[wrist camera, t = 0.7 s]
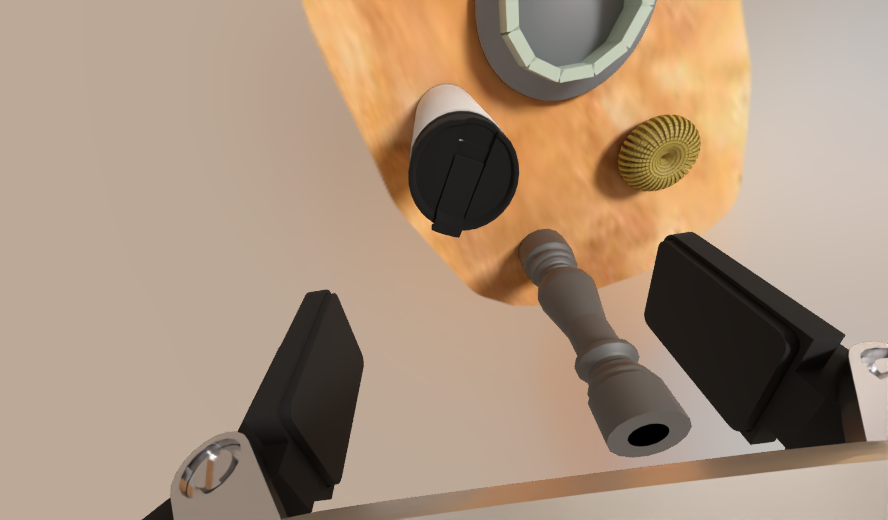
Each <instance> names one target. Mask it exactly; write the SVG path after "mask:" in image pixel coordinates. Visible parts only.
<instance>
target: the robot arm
mask: <svg viewBox="0 0 888 520" xmlns="http://www.w3.org/2000/svg"><path fill="white" fill-rule="evenodd" d="M644 316H645V321H646V323H647V325H648V326H649V327H650V329H651V330H652V331H653V333H654V334H655V335H656V336H657V337H658V339H659V340H660V341H661V342H662V344H663V345H664V346H665V347H666V348H667V350H668V351H669V352H670V354H671V355H672V356H673V357H674V358H675V360H676V361H677V362H678V363H679V365H680V366H681V367H682V368H683V370H684V371H685V372H686V373H687V375H688V376H689V377H690V378H691V379H692V381H693V382H694V383H695V384H696V386H697V387H698V388H699V389H700V391H701V392H702V393H703V394H704V395H705V397H706V398H707V399H708V400H709V402H710V403H711V404H712V405H713V406H714V408H715V409H716V410H717V412H718V413H719V414H720V415H721V416H722V418H723V419H724V420H725V421H726V423H727V424H728V425H729V426H730V427H731V428H732V429H734V430H736V431H740V432H741V434H742V435H743V436H744V437H745V439H746V440H747V441H748V442H749V443H750V444H751V445H752V444H760V443H767V442H774V441H775V440H776V438H777V439H778V440H779V441H780V442H781V443H782V444H783V445H784V447H785V450H778V451H770V452H761V453H754V454H745V455H738V456H729V457H721V458H714V459H705V460H697V461H689V462H681V463H673V464H665V465H656V466H649V467H640V468H633V469H626V470H617V471H609V472H601V473H594V474H586V475H578V476H570V477H563V478H555V479H547V480H539V481H532V482H524V483H516V484H509V485H502V486H494V487H486V488H479V489H471V490H464V491H456V492H449V493H442V494H434V495H427V496H419V497H412V498H405V499H397V500H389V501H383V502H376V503H370V504H363V505H357V506H350V507H344V508H338V509H331V510H324V511H319V512H313V513H311V512H312V508H313V504H314V501H320V500H329V499H332V494H333V489H334V485H335V484H339V483H340V481H341V478H342V473H343V468H344V463H345V458H346V453H347V448H348V443H349V438H350V433H351V428H352V423H353V418H354V413H355V408H356V402H357V397H358V392H359V387H360V382H361V377H362V372H363V366H364V365H363V364H364V361H363V356H362V353H361V351H360V348H359V346H358V344H357V341H356V339H355V336H354V334H353V332H352V329H351V327H350V325H349V322H348V320H347V318H346V315H345V313H344V310H343V308H342V305H341V303H340V301H339V298H338V296H337V295H336V294H335V293H334V294H331V292H330V291H329V290H321V291H315V292H309V293H307V294H306V295H305V297H304V299H303V301H302V304H301V305H300V308H299V310H298V312H297V314H296V316H295V318H294V320H293V322H292V324H291V326H290V328H289V330H288V332H287V334H286V336H285V338H284V340H283V342H282V344H281V346H280V347H279V349H278V351H277V353H276V355H275V357H274V359H273V361H272V363H271V365H270V367H269V369H268V371H267V373H266V375H265V377H264V379H263V381H262V383H261V385H260V387H259V389H258V391H257V393H256V395H255V398H254V399H253V401H252V404H251V406H250V407H249V409H248V412H247V413H246V416H245V418H244V420H243V422H242V424H241V426H240V428H239V430H238V432H226V433H223V434H220V435H217V436H215V437H213V438H211V439H210V440H208V441H206V442H204V443H203V444H202V445H201V446H200V447H198V448H197V449H196V450H194V451H193V452H192V453H191V455H189V457H188V458H187V459H186V460H185V461H184V462H183V463H182V465H181V466H180V468H179V469H178V471H177V472H176V474H175V477H174V479H173V482H172V484H171V494H170V498H169V499H168V500H166V501H165V502H164V503H163V504H161V505H160V506H159V507H157V508H156V509H155V510H154V511H152V512H151V513H150V514H149V515H147V516H146V517H145V518H144V519H142V520H888V343H883V342H863V343H859V344H855V345H854V346H853V347H852V348H850V349H849V350H848V349H847V348H845V347H844V346H842V345H841V344H840V343H841V341H842V340H843V338H844V337H845V334H843V333H842V332H840V331H839V330H837V329H836V328H834V327H833V326H832V325H830V324H829V323H827V322H826V321H824V320H823V319H821V318H820V317H818V316H817V315H815V314H814V313H812V312H811V311H809V310H808V309H806V308H805V307H803V306H802V305H800V304H799V303H797V302H796V301H794V300H793V299H792V298H790V297H789V296H787V295H786V294H784V293H783V292H781V291H780V290H778V289H777V288H775V287H774V286H772V285H771V284H769V283H768V282H766V281H765V280H763V279H762V278H760V277H759V276H758V275H756V274H754V273H753V272H752V271H750V270H749V269H747V268H746V267H744V266H743V265H741V264H740V263H738V262H737V261H735V260H734V259H732V258H731V257H729V256H728V255H726V254H725V253H723V252H722V251H720V250H719V249H718V248H716V247H715V246H713V245H712V244H710V243H709V242H707V241H706V240H704V239H703V238H701V237H700V236H698V235H697V234H695V233H693V232H686V233H680V234H674V235H669V236H667V237H666V238H665V240H664V241H663V242H661V243H660V244H659V247H658V251H657V256H656V261H655V265H654V270H653V275H652V279H651V284H650V289H649V294H648V298H647V303H646V308H645V313H644Z"/></svg>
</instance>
